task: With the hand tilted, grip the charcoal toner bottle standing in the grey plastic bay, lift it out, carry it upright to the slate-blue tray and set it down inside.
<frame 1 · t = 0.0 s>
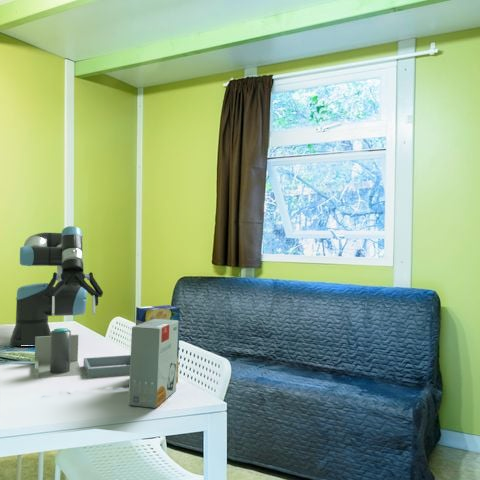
hand: (74, 314, 168), 15 cm above the table, tool tilted 35°, fingers open, 13 cm apart
hard drive box: (153, 398, 127), on the table
bay: (59, 376, 145), on the table
beverage box: (156, 382, 142), on the table
toner bottle: (59, 371, 145), point 1 cm above the table, touching bay
tray: (111, 374, 148), on the table
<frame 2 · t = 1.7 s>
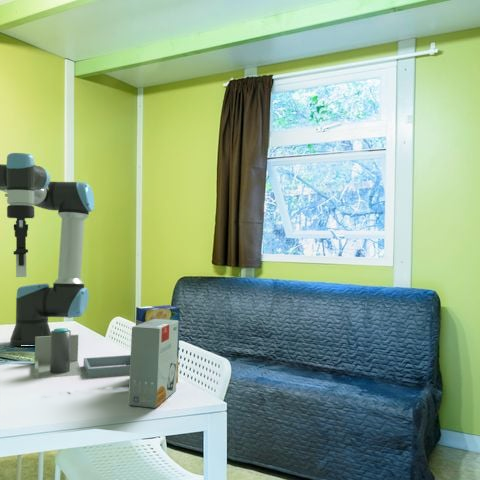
hand: (21, 275, 145), 30 cm above the table, tool pointing down, fingers open, 13 cm apart
nothing on the table moved.
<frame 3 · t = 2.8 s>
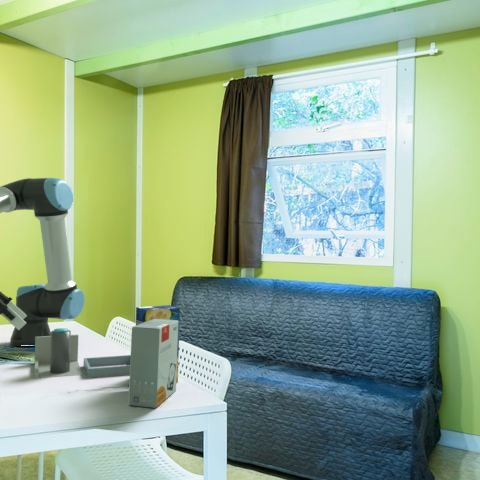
hand: (23, 322, 141), 17 cm above the table, tool tilted 45°, fingers open, 13 cm apart
nothing on the table moved.
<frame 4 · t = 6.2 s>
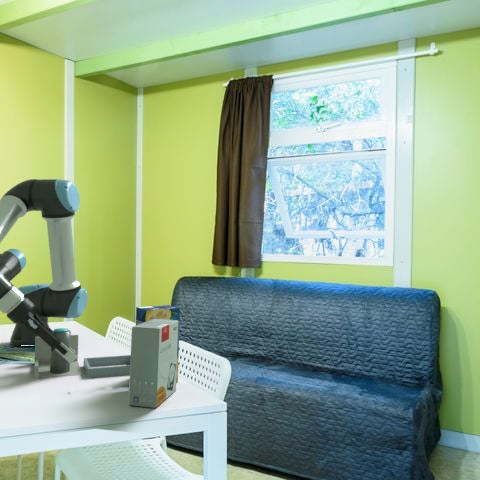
hand: (72, 357, 147), 5 cm above the table, tool tilted 45°, fingers closed on toner bottle, 6 cm apart
toner bottle: (59, 371, 145), point 1 cm above the table, touching bay, gripper
everything else where it was.
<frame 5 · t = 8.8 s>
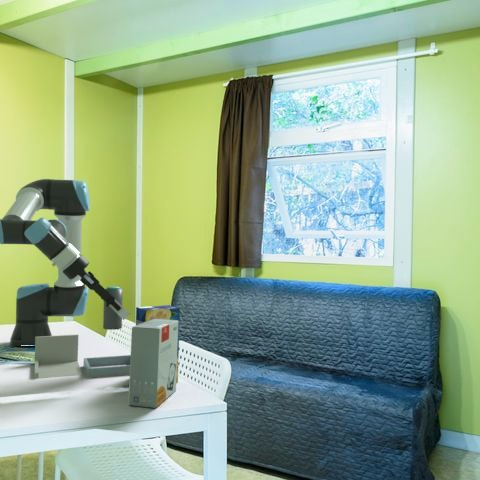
hand: (124, 315, 150), 18 cm above the table, tool tilted 45°, fingers closed on toner bottle, 6 cm apart
toner bottle: (112, 327, 148), point 14 cm above the table, touching gripper
everything else where it was.
when the fingers open (6 cm above the table, at t = 11.4 s): toner bottle drops 1 cm, resting on tray.
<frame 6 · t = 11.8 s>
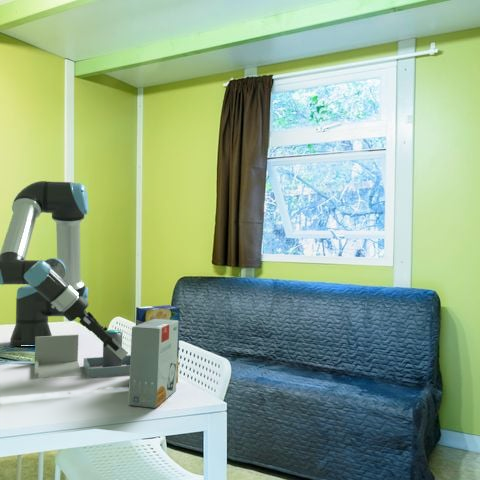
hand: (121, 351, 149), 7 cm above the table, tool tilted 45°, fingers open, 11 cm apart
toner bottle: (111, 371, 148), point 1 cm above the table, touching tray
everything else where it was.
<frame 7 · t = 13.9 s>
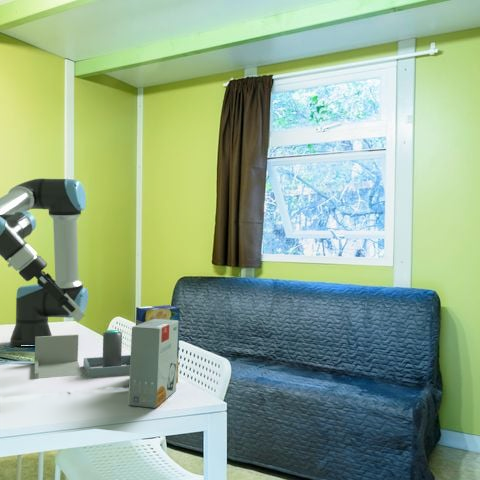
hand: (79, 314, 145), 19 cm above the table, tool tilted 45°, fingers open, 13 cm apart
nothing on the table moved.
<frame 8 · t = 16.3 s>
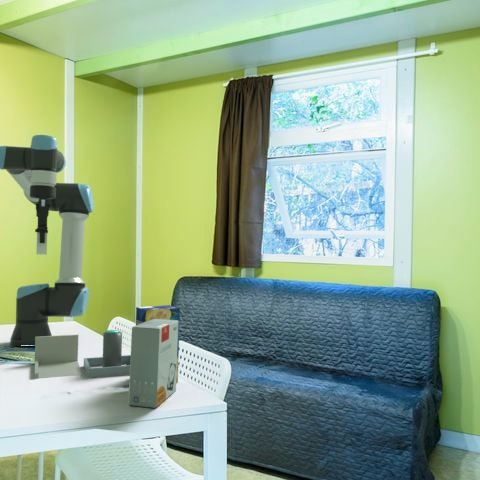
hand: (41, 253, 149), 37 cm above the table, tool pointing down, fingers open, 13 cm apart
nothing on the table moved.
at the end: toner bottle inside the target area on the tray (0.1 cm from its centre), point 0.8 cm above the tray's base; toner bottle tilted 0°; the gripper is holding nothing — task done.
